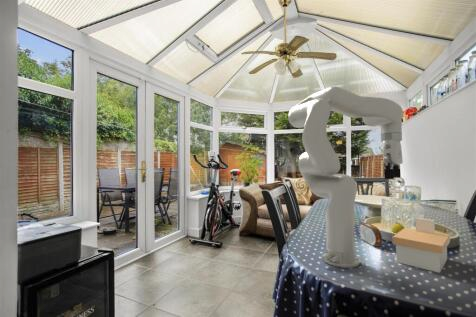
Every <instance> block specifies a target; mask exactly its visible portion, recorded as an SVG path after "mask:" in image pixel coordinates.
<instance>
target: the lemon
mask: <svg viewBox="0 0 476 317" xmlns="http://www.w3.org/2000/svg"><path fill="white" fill-rule="evenodd" d="M404 228H405V226H404V225H402V224H400V223H398V222H397V223H396V224H394V225H393V226H392V228H391V233H392V232H393V233H396V234H397V233H398V232H400V231H401V230H403V229H404Z"/></svg>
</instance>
